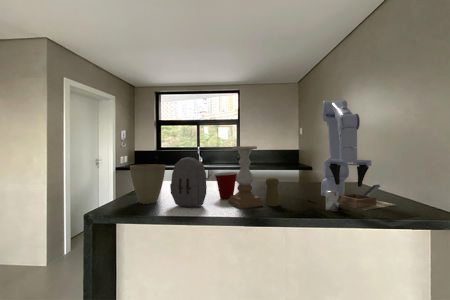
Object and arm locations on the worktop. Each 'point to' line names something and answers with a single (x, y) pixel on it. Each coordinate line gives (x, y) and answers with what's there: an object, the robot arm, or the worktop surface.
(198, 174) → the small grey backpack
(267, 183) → the cork
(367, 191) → the bar
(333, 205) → the steel peg
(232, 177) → the plastic cup
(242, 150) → the candle holder
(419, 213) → the worktop surface
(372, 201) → the socket board
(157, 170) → the plant pot
